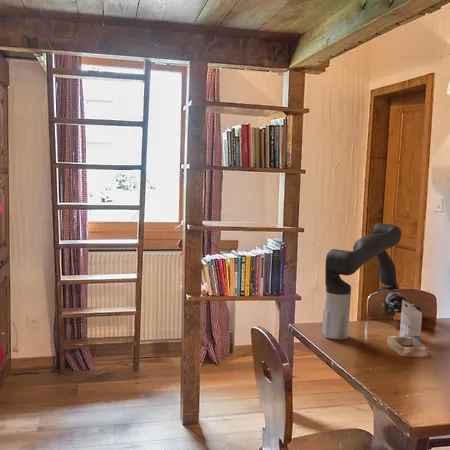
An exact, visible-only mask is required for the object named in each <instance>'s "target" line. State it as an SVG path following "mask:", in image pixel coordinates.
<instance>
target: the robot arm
mask: <svg viewBox="0 0 450 450" xmlns="http://www.w3.org/2000/svg"><path fill="white" fill-rule="evenodd" d="M372 229H373V230H372V233H371V234H367V235H364V236H362V237H360V238H359V239H357V240H356V241H355V242H354V244H353V248H352V250H343V249H336V248H333V249H330V250H329V251H328V252H327V254H326V256H325V267H324V268H325V271H324V272H325V274H324V275H325V276H324V277H325V278H324V279H325V282H324V284H325V299H324V301H325V302H324V309H323V310H322V311H323V312H322V324H321V334H322V336H323V337H324V338H325V339H329V340H330V339H331V340H336V341H337V340H338V341H339V340H341V341H342V340H347V339H348V338H349V326H350V324H349V323H350V311H351V298H352V297H351V295H352V286H351V285H350V284H349V283H348V282H346V281H345V280H343V279H342V278H341V276H352V275H354V273H356V272H357V271H358V270H360V268H361V267H362V266H363V265H364V264H365V263H367V262H368V261H370V260H372V259H374V258H375V257H376V258H377V262H378V266H379V267H378V268H379V278H380V279H379V281H380V283H381V284H382V286H379V287H378V288H377V291H376V293H377V292H380V291H385V290H389V292H387V293H386V295H385V300H386V302H385V301H383V302H382V309H383V311H388V312H390V313H391V314H395V313H396V314H401V311H402V300H404V301H406V302H408V300H407V299H406V298H405V296H403V295H402V293H401V294H400V293H399V292H398V291H396V290H393V289H400V286H399V284H398V281H397V270H396V269H397V268H396V265H395V263H394V261H393V259H392V258H391V256H390V255H389V253H388V251H387V250H389V249H391V248H394V247H395V246H396V245H398V243H400V241H401V239H402V229H401V228H400V227H399V226H398V225H396V224H390V223H389V224H388V223H383V222H382V223H380V222H379V223H376V224H375V225H374V226H373V228H372ZM400 290H401V289H400ZM410 304H411V308H415V309H416V310H418V311H420V312H421V306H420V305H418V304H417V303H415V302H414V303H413V304H412V303H410ZM405 306H406V307H408V306H407V304H405Z"/></svg>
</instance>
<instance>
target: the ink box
mask: <svg viewBox="0 0 450 450" xmlns="http://www.w3.org/2000/svg"><path fill="white" fill-rule="evenodd" d="M405 304H407V306H408V307H406V306H405ZM411 304H412V303H409V302H408V301H407V302H406V301H404V300H402V311H401V313H400V323H399V324H400V325H399V337H414V338H415V339H417V340H418V341H419V342H420V343H421V334H422V333H421V332H422V324H423V323H422V322H423V321H422V320H423V312H421V310H420V311H418V310H416V309H415V308H411Z"/></svg>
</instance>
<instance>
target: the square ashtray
mask: <svg viewBox="0 0 450 450" xmlns="http://www.w3.org/2000/svg"><path fill="white" fill-rule="evenodd" d="M386 343H387V346H388V347H390V348H391V349H392V350H393V351H394V352H395V353H396V352H397V353H396V354H398V355H399V356H400V357H413V358H419V357H420V358H423V357H424V358H429V357H428V356H429V347H427V346H426V345H425V344H423V343H422V342H421V341H420V342H419V341H418V340H417V339H415V338H414V337H400V336H392V335H388V336H387V342H386ZM406 345H407V346H406Z"/></svg>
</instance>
